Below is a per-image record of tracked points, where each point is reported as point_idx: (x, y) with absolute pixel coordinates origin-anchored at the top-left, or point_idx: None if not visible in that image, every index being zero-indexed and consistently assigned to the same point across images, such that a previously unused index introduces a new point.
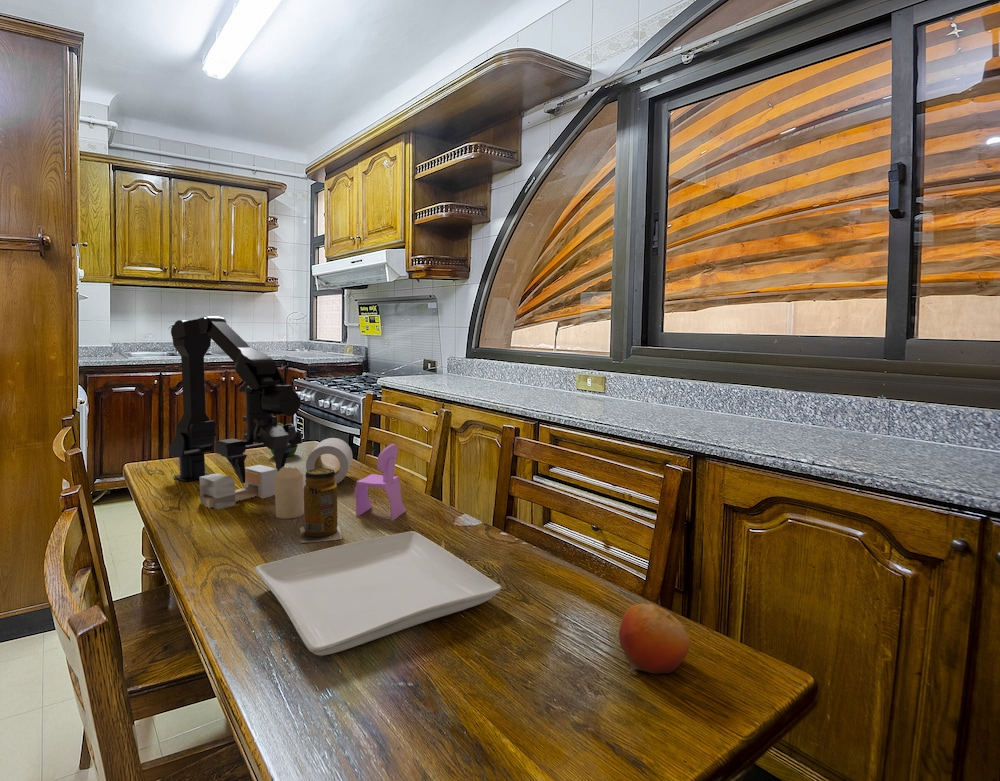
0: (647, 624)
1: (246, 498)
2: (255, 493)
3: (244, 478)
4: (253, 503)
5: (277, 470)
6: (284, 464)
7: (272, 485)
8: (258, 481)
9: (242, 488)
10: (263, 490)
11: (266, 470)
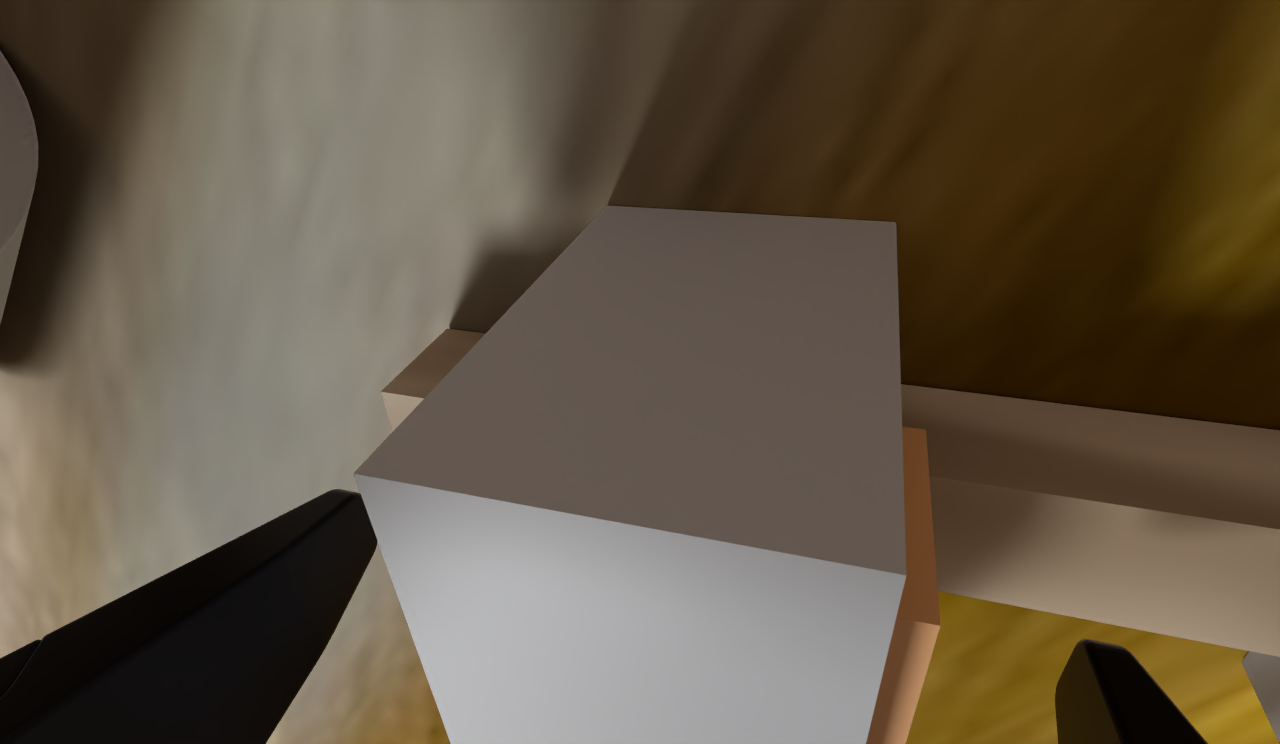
0: None
1: (1043, 406)
2: None
3: (1147, 729)
4: (1246, 86)
5: (337, 591)
6: (138, 593)
7: (653, 285)
8: (909, 471)
9: (1014, 599)
10: (868, 276)
11: (638, 603)
